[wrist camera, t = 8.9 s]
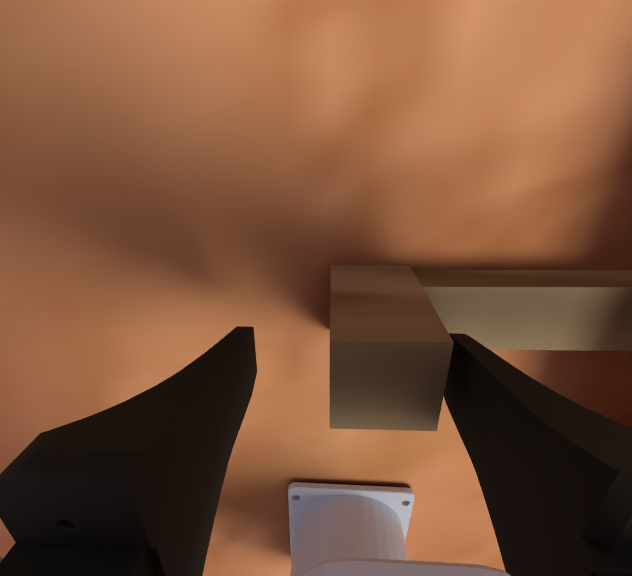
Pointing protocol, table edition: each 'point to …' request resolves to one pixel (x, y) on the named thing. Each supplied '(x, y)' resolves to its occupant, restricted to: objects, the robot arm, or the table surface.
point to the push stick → (454, 330)
